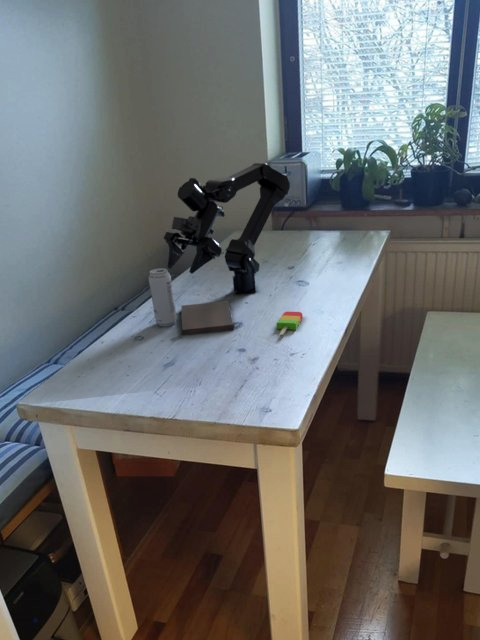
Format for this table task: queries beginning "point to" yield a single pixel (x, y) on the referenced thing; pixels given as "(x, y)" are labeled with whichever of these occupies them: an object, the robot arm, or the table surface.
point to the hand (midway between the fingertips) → (179, 270)
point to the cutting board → (206, 318)
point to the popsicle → (289, 321)
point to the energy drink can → (162, 297)
